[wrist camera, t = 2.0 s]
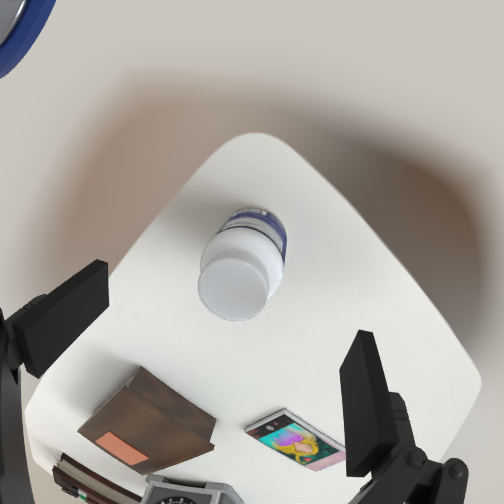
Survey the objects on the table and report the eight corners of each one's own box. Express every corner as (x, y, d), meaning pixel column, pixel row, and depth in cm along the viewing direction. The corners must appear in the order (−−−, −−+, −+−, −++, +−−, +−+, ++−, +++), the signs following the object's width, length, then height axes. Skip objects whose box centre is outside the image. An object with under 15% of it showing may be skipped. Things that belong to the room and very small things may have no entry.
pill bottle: (259, 277, 27) (239, 346, 18) (211, 238, 27) (168, 292, 18) (301, 234, 25) (300, 290, 16) (250, 191, 25) (221, 225, 16)
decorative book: (135, 530, 56) (47, 480, 55) (143, 512, 63) (57, 464, 62) (149, 525, 49) (42, 465, 47) (157, 503, 56) (55, 446, 54)
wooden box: (90, 411, 41) (76, 432, 37) (139, 361, 34) (120, 389, 29) (152, 454, 43) (142, 476, 39) (222, 420, 36) (213, 451, 31)
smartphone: (284, 412, 32) (354, 456, 35) (284, 407, 33) (354, 452, 35) (243, 431, 35) (315, 472, 37) (244, 427, 36) (315, 468, 38)
